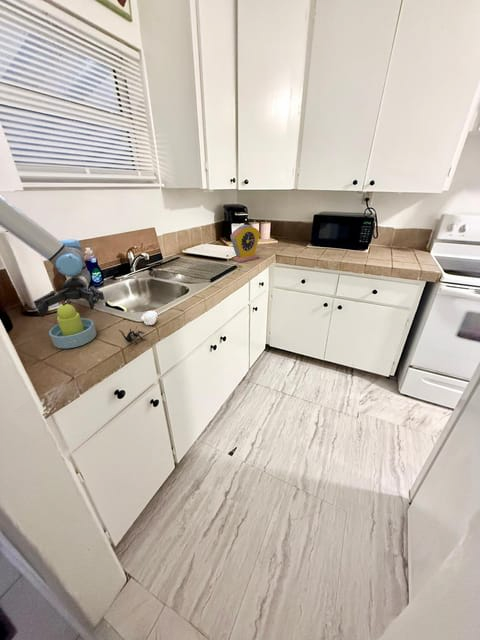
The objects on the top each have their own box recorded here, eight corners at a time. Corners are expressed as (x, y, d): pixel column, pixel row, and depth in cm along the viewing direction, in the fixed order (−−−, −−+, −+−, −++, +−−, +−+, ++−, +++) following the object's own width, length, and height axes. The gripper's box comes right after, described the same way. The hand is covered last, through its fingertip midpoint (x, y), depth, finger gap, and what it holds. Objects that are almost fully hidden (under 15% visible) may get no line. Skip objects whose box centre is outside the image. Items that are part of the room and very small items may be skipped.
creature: (136, 335, 89) (116, 341, 82) (136, 320, 87) (116, 325, 80) (154, 341, 86) (134, 348, 79) (154, 325, 84) (134, 331, 77)
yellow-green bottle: (60, 342, 82) (45, 304, 76) (73, 332, 87) (60, 296, 81) (78, 343, 81) (64, 305, 75) (90, 333, 87) (78, 297, 80)
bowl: (44, 348, 80) (39, 335, 78) (71, 328, 91) (67, 317, 88) (80, 351, 79) (76, 338, 76) (104, 331, 89) (101, 319, 87)
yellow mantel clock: (237, 263, 163) (237, 227, 153) (228, 260, 169) (227, 225, 159) (262, 257, 176) (263, 224, 166) (252, 255, 182) (253, 222, 172)
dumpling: (162, 321, 96) (160, 313, 93) (151, 329, 92) (149, 321, 90) (148, 314, 98) (146, 306, 95) (138, 322, 95) (135, 313, 92)
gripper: (113, 291, 105) (112, 313, 87) (40, 301, 96) (23, 327, 79) (109, 273, 101) (107, 292, 84) (33, 281, 93) (13, 304, 75)
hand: (66, 309), depth 81 cm, fingers open, 13 cm apart
